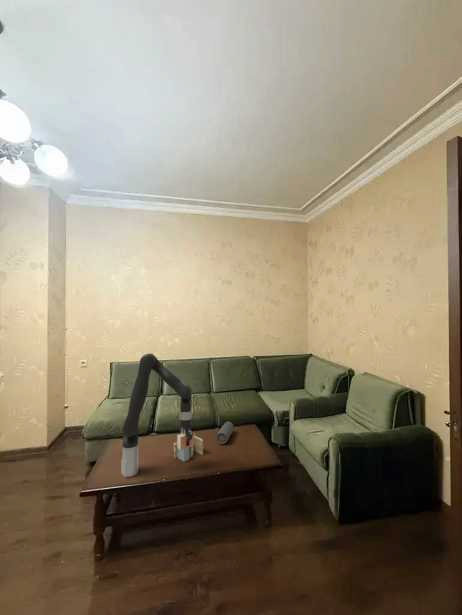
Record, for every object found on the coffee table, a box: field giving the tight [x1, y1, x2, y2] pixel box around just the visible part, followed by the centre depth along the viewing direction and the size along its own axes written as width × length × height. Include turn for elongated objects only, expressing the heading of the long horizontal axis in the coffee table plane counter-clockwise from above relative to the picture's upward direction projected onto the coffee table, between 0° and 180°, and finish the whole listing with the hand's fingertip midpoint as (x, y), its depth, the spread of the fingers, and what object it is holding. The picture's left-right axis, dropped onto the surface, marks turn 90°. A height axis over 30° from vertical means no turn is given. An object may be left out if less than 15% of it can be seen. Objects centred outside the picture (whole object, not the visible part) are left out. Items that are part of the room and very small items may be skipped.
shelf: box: [173, 434, 204, 459], centre depth 190 cm, size 18×10×10 cm, turn 134°
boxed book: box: [176, 431, 195, 450], centre depth 175 cm, size 10×4×8 cm, turn 131°
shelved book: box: [176, 447, 190, 463], centre depth 186 cm, size 4×8×8 cm, turn 44°
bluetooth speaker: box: [216, 421, 235, 445], centre depth 216 cm, size 23×9×10 cm, turn 167°
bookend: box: [189, 446, 194, 459], centre depth 190 cm, size 4×7×9 cm, turn 44°
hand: (185, 444), depth 175 cm, fingers closed on boxed book, 4 cm apart
